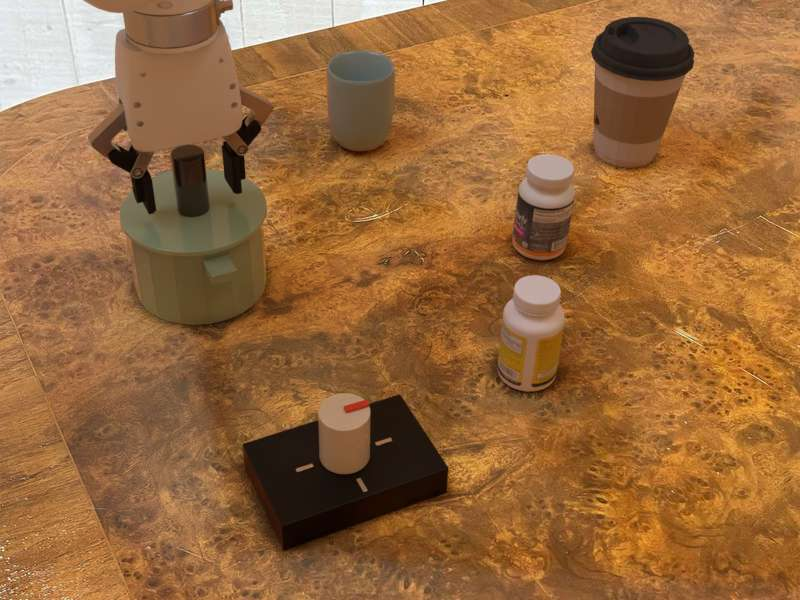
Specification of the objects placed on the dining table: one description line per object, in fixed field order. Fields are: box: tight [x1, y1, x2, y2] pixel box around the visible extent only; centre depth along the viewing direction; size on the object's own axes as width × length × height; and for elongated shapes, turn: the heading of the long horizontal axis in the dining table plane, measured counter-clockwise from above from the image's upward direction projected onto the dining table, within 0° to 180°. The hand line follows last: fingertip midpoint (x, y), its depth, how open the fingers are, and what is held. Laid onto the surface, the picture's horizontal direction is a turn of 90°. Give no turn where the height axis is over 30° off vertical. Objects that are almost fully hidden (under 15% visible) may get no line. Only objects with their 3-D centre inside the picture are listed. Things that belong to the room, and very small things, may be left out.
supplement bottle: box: [496, 274, 566, 392], centre depth 94 cm, size 5×5×10 cm
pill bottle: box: [511, 153, 576, 261], centre depth 109 cm, size 6×6×10 cm
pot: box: [125, 169, 267, 326], centre depth 103 cm, size 13×18×8 cm
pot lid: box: [118, 144, 268, 256], centre depth 98 cm, size 14×14×7 cm
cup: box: [325, 50, 396, 152], centre depth 123 cm, size 8×8×10 cm
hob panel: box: [241, 393, 449, 551], centre depth 86 cm, size 14×9×3 cm, turn 115°
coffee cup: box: [590, 16, 695, 169], centre depth 122 cm, size 11×11×15 cm
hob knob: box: [317, 392, 371, 474], centre depth 83 cm, size 4×4×5 cm
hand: (191, 194), depth 99 cm, fingers open, 7 cm apart
